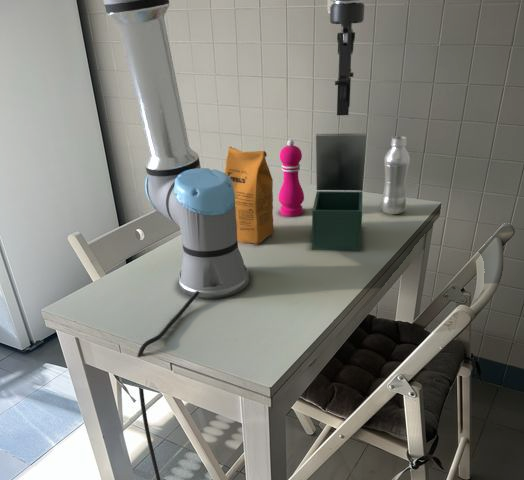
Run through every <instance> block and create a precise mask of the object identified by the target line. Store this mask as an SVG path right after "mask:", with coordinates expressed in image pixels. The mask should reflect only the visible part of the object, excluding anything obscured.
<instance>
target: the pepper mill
mask: <svg viewBox="0 0 524 480" xmlns="http://www.w3.org/2000/svg"><path fill="white" fill-rule="evenodd" d="M286 142H287V143H286V144H287V145H285V146H284V147H282V148H281V150H280V152H279V161H280V162H281V163H282V164H281V171H282V172H283V181H282V185H281V187H280V190H279V192H278V202H279V203H280V214H281V215H282V216H284V217H297V216H300V215H302V214H303V205H302V203H303V202H304V201H305V193H304V190H303V188H302V185H301V182H300V179H299V171H300V170H301V168H300V167H301V164H300V162H301V161H302V159H303V153H302V149H300V147H298V146H296V145H295V142H294V140H293V139H288V140H287V141H286Z"/></svg>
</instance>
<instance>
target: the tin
mask: <svg viewBox="0 0 524 480" xmlns="http://www.w3.org/2000/svg"><path fill="white" fill-rule="evenodd" d="M362 223H363V190H316V193H315V197H314V202H313V205H312V210H311V250H314V251H315V250H319V251H326V250H327V251H361V241H362Z"/></svg>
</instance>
